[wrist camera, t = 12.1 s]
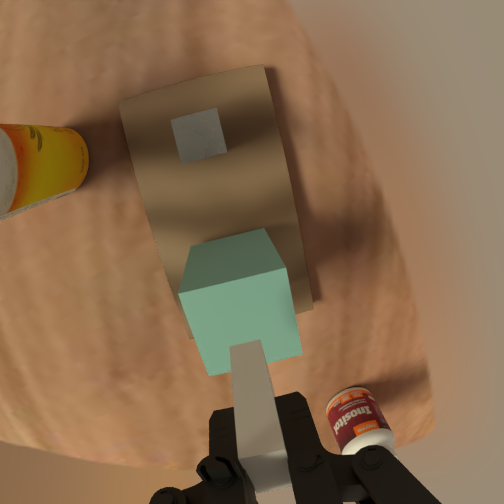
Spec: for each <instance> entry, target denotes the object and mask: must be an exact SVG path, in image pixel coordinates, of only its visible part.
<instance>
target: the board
mask: <svg viewBox="0 0 504 504" xmlns="http://www.w3.org/2000/svg"><path fill="white" fill-rule="evenodd" d="M118 106H119V111H120V115H121V120H122V124H123V128H124V132H125V137H126V141H127V145H128V149H129V153H130V157H131V161H132V164H133V168H134V172H135V176H136V179H137V183H138V187H139V190H140V194H141V197H142V201H143V204H144V208H145V211H146V214H147V218H148V221H149V224H150V227H151V231H152V234H153V237H154V240H155V243H156V247H157V250H158V253H159V256H160V259H161V262H162V265H163V268H164V271H165V274H166V276H167V279H168V282H169V285H170V288H171V291H172V294H173V296H174V299H175V302H176V305H177V307H178V310H179V313H180V315H181V318H182V321H183V323H184V326H185V329H186V331H187V334H188V336H189V339H194V336H193V334H192V331H191V328H190V326H189V323H188V320H187V318H186V315H185V312H184V309H183V306H182V304H181V301H180V298H179V295H178V292H179V288H180V284H181V281H182V277H183V273H184V269H185V265H186V262H187V258H188V254H189V251H190V247H191V246H193V245H197V244H201V243H205V242H209V241H213V240H217V239H221V238H225V237H229V236H233V235H237V234H241V233H245V232H249V231H254V230H258V229H262V228H264V229H265V230H266V232H267V234H268V236H269V238H270V239H271V241H272V243H273V245H274V247H275V248H276V250H277V252H278V254H279V256H280V257H281V259H282V261H283V263H284V265H285V266H286V270H287V275H288V280H289V285H290V290H291V295H292V300H293V305H294V311H295V314H298V313H302V312H306V311H309V310H313V309H314V306H313V300H312V294H311V288H310V282H309V276H308V271H307V265H306V259H305V254H304V248H303V243H302V237H301V232H300V227H299V222H298V216H297V211H296V206H295V201H294V196H293V191H292V187H291V182H290V177H289V172H288V168H287V163H286V158H285V154H284V149H283V145H282V140H281V136H280V132H279V127H278V123H277V119H276V114H275V110H274V106H273V102H272V98H271V94H270V90H269V86H268V82H267V78H266V74H265V70H264V66H263V64H262V65H256V66H250V67H245V68H240V69H235V70H230V71H225V72H221V73H216V74H212V75H208V76H204V77H200V78H196V79H192V80H188V81H184V82H181V83H177V84H173V85H170V86H167V87H163V88H160V89H157V90H153V91H150V92H147V93H144V94H141V95H138V96H135V97H132V98H129V99H126V100H124V101H121V102H118ZM214 108H217V112H218V116H219V120H220V124H221V128H222V132H223V136H224V140H225V145H226V149H227V153H223V154H219V155H215V156H211V157H207V158H203V159H199V160H196V161H192V162H188V163H185V164H181V160H180V156H179V153H178V149H177V145H176V141H175V137H174V132H173V128H172V124H171V120H172V119H176V118H179V117H183V116H186V115H190V114H194V113H198V112H202V111H205V110H209V109H214Z"/></svg>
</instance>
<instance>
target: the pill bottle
mask: <svg viewBox="0 0 504 504" xmlns="http://www.w3.org/2000/svg"><path fill="white" fill-rule="evenodd" d="M326 413H327V417H328V420H329V422H330V425H331V428H332V430H333V433H334V436H335V438H336V441H337V444H338V446H339V449H340V452H341V454H342V455H349V454H355V453H356V452H357V451H359V450H360V449H361V448H363V447H366V446H368V445H380V446H383V447H385V448H386V449H388V450H389V451H390V452H391V453H392V454H393V455H394V456H395V457H396V458H397V455H396V453H395V451H394V450H393V445H394V442H395V438H394V435H393V433H392V431H391V429H390V427H389V425H388V423H387V421H386V420H385V418H384V416H383V414H382V412H381V411H380V409H379V407H378V405H377V403H376V401H375V400H374V398H373V396H372V394H371V393H370V392H369V391H368V390H367V389H365V388H361V387H354V388H349V389H346V390H344V391H342V392H340V393H338V394H337V395H336V396H334V397H333V398H332V400H331V401H330V402H329V404H328V406H327V410H326ZM397 459H398V458H397Z"/></svg>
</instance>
